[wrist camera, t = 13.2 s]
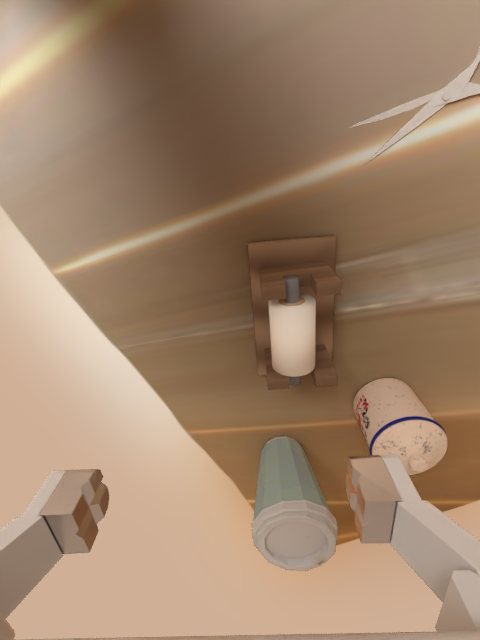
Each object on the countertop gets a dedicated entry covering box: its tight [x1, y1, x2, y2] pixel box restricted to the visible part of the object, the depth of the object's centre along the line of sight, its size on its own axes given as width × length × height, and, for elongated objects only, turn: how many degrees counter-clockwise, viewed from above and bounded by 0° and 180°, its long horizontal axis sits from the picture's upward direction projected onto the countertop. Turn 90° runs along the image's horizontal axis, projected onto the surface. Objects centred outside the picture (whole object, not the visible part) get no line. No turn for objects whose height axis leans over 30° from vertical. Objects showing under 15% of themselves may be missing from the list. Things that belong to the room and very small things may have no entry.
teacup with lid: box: [353, 378, 447, 475], centre depth 43 cm, size 12×9×12 cm
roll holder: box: [248, 235, 342, 390], centre depth 38 cm, size 18×10×8 cm, turn 5°
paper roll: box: [268, 276, 316, 386], centre depth 37 cm, size 13×5×5 cm
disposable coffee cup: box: [252, 436, 338, 571], centre depth 46 cm, size 11×11×15 cm
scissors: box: [349, 46, 480, 163], centre depth 32 cm, size 11×1×20 cm
